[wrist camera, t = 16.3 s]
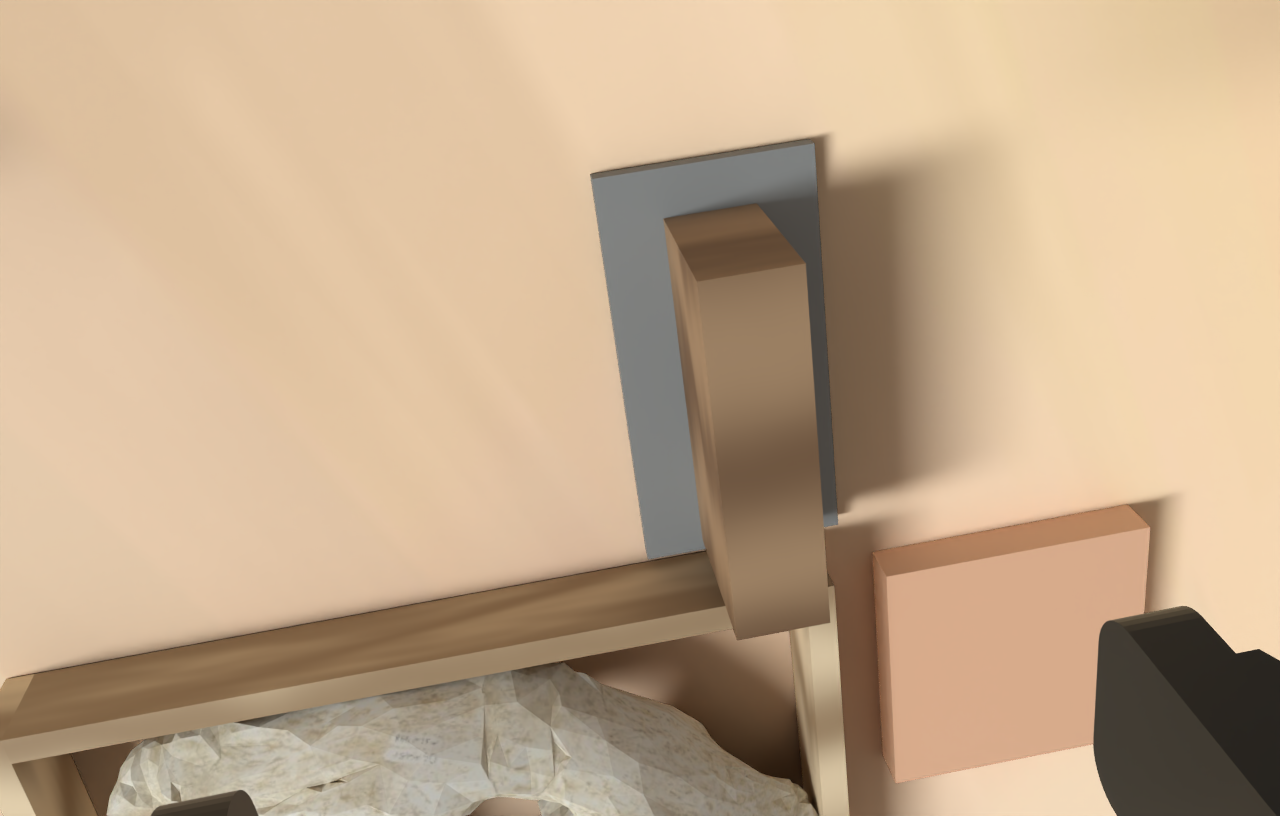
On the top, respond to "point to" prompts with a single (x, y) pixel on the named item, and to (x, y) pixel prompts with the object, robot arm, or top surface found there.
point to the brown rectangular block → (751, 415)
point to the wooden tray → (392, 672)
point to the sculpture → (462, 756)
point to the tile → (1000, 638)
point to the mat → (649, 323)
